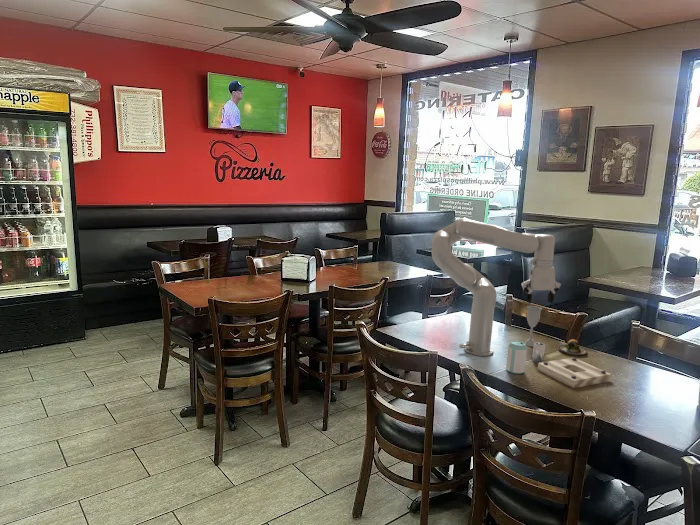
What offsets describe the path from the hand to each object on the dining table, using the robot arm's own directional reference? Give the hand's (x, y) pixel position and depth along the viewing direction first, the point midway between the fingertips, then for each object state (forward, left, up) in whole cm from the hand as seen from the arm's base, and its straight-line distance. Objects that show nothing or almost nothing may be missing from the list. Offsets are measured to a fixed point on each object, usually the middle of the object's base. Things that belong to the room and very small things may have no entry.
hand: (539, 302), depth 210 cm
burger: (+22, -2, -25) cm, 33 cm away
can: (-20, -11, -25) cm, 34 cm away
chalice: (+10, +12, -25) cm, 29 cm away
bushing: (-3, -6, -25) cm, 25 cm away
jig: (0, -22, -25) cm, 33 cm away
